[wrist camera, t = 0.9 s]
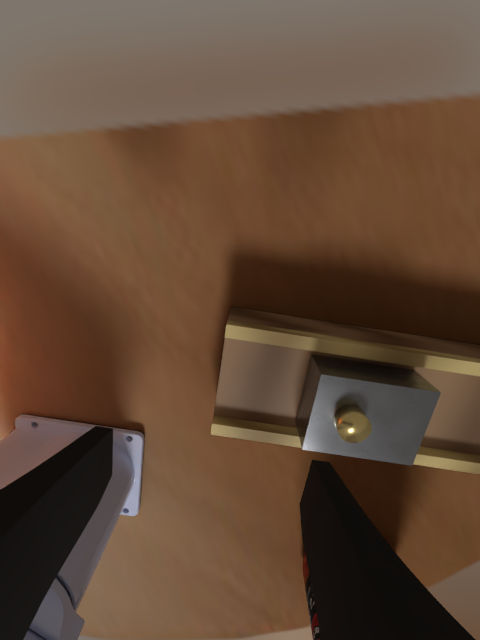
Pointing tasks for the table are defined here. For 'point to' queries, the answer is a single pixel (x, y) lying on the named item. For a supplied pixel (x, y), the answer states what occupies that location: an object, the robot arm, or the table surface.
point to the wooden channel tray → (352, 344)
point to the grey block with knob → (364, 410)
